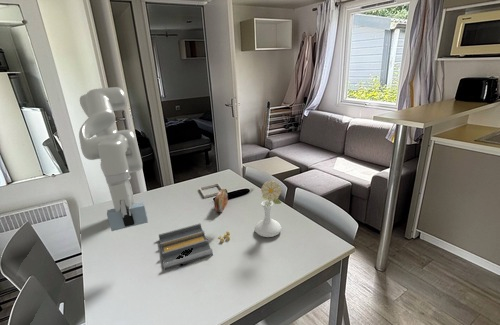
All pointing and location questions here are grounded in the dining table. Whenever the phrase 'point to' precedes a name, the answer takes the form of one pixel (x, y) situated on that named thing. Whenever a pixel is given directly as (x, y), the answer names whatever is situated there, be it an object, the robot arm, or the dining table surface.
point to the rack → (184, 246)
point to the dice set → (225, 237)
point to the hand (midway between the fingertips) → (129, 222)
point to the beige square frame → (209, 187)
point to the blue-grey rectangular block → (136, 211)
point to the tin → (221, 200)
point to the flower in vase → (269, 225)
